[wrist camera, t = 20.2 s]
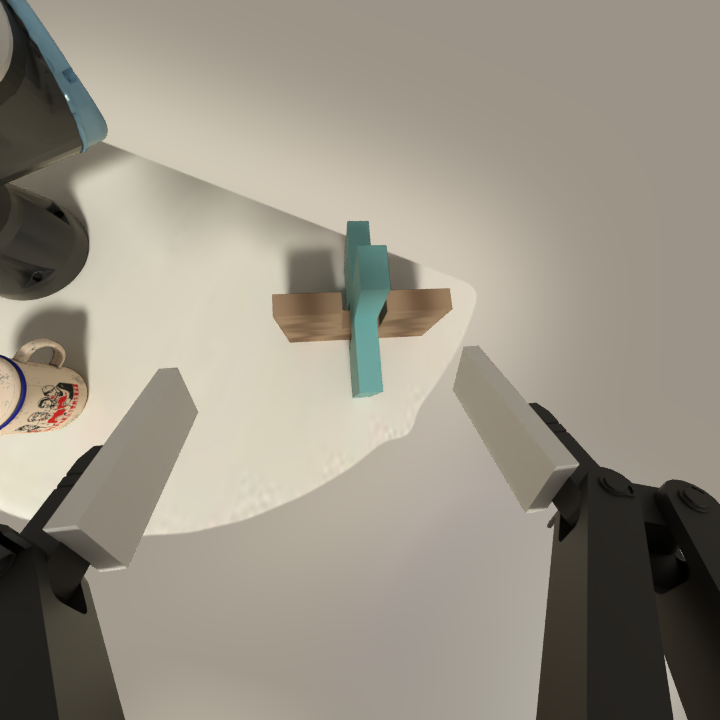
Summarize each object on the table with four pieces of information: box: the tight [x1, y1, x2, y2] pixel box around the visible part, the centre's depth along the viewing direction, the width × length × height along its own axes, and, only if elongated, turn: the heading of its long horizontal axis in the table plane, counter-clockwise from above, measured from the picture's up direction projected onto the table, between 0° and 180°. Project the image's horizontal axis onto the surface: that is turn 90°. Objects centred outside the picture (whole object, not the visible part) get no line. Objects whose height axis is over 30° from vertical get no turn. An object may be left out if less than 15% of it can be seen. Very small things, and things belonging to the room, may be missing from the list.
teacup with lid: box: [0, 339, 87, 435], centre depth 33 cm, size 12×9×12 cm
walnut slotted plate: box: [272, 288, 452, 342], centre depth 38 cm, size 20×2×12 cm, turn 94°
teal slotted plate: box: [344, 221, 391, 398], centre depth 34 cm, size 20×2×20 cm, turn 4°
